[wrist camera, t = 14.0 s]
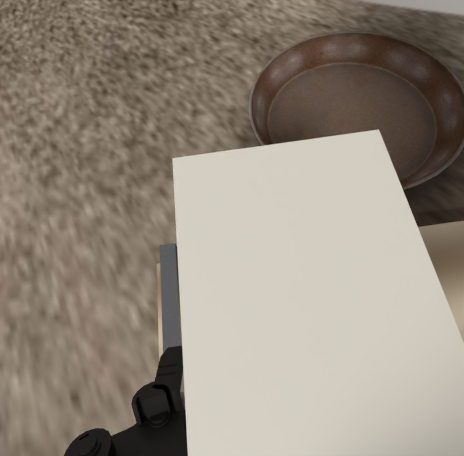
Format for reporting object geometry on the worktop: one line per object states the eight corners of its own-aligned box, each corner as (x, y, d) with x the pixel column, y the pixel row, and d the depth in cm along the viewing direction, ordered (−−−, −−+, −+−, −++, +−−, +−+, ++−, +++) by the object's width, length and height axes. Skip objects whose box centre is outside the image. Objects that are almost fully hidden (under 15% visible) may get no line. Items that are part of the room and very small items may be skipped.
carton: (304, 294, 22) (378, 129, 8) (347, 489, 17) (648, 809, 4) (221, 305, 22) (160, 160, 8) (241, 502, 17) (181, 864, 4)
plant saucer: (248, 212, 28) (246, 192, 25) (250, 61, 36) (249, 33, 33) (476, 211, 27) (501, 191, 24) (428, 54, 34) (443, 25, 32)
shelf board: (161, 270, 26) (156, 263, 25) (478, 226, 26) (490, 216, 25) (172, 591, 18) (165, 607, 17) (627, 532, 18) (657, 543, 17)
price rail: (167, 262, 25) (156, 246, 22) (184, 259, 25) (175, 243, 22) (182, 604, 17) (167, 644, 14) (206, 601, 17) (196, 640, 14)
